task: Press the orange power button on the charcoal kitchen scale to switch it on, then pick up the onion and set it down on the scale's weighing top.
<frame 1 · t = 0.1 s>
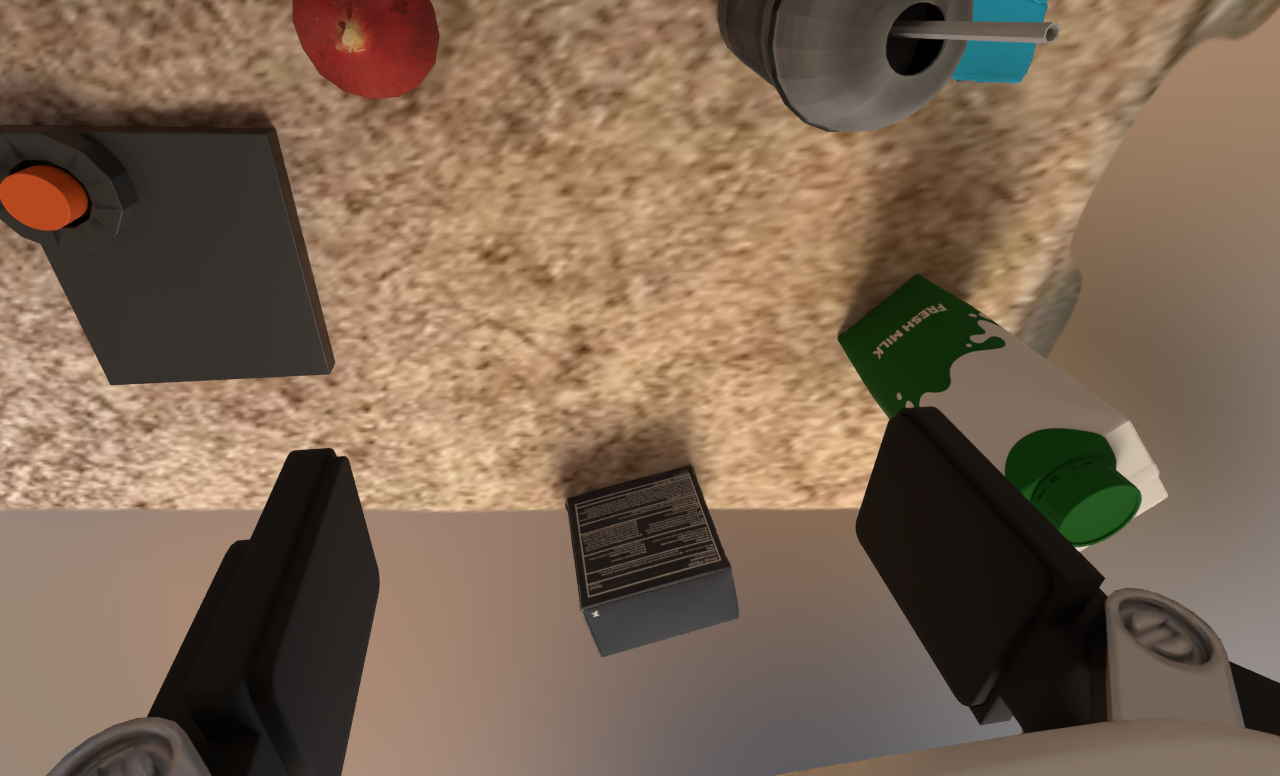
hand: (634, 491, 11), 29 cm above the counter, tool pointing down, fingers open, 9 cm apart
small box: (636, 506, 51), on the counter
onion: (382, 19, 30), on the counter
beverage cup: (758, 12, 33), on the counter
power button: (45, 197, 29), point 3 cm above the counter, slide at 0.1 cm
scale: (192, 260, 35), on the counter
milk carton: (897, 335, 46), on the counter
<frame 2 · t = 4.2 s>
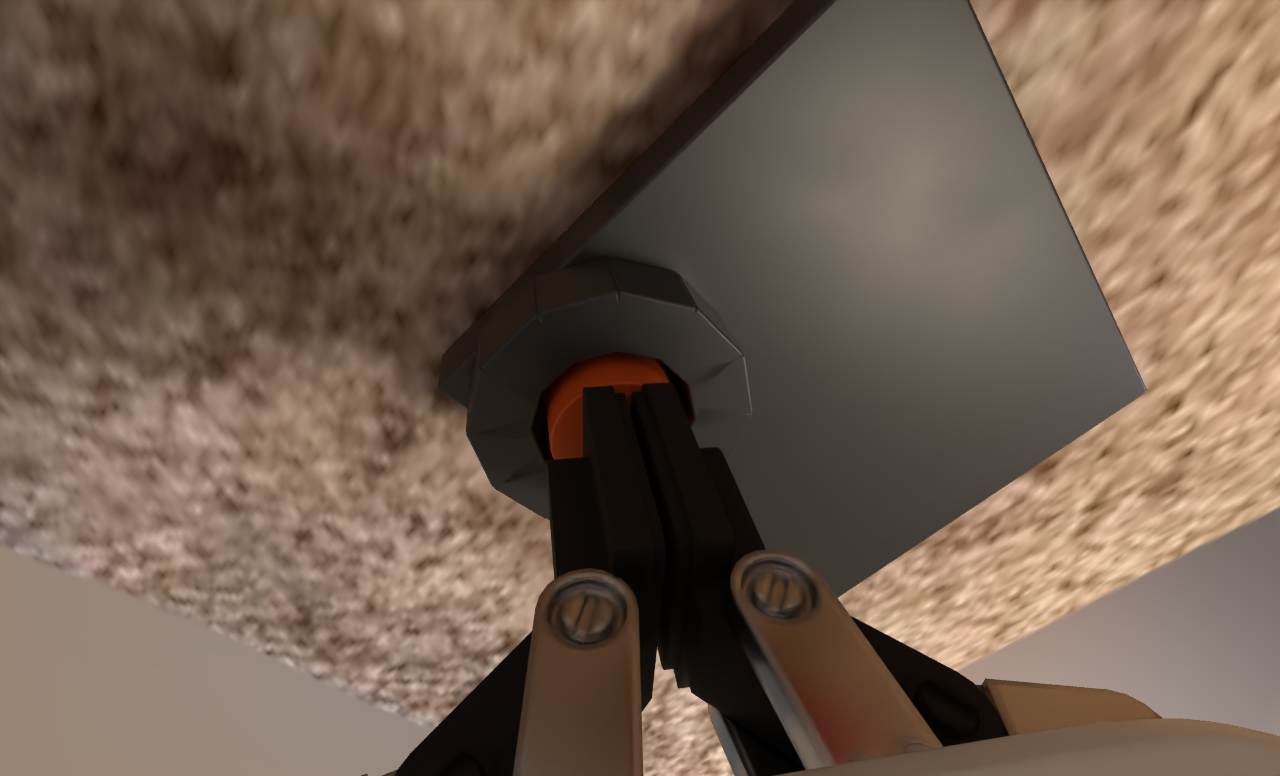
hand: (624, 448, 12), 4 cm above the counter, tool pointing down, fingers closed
power button: (613, 415, 13), point 3 cm above the counter, slide at -0.5 cm, touching gripper
scale: (815, 360, 16), on the counter
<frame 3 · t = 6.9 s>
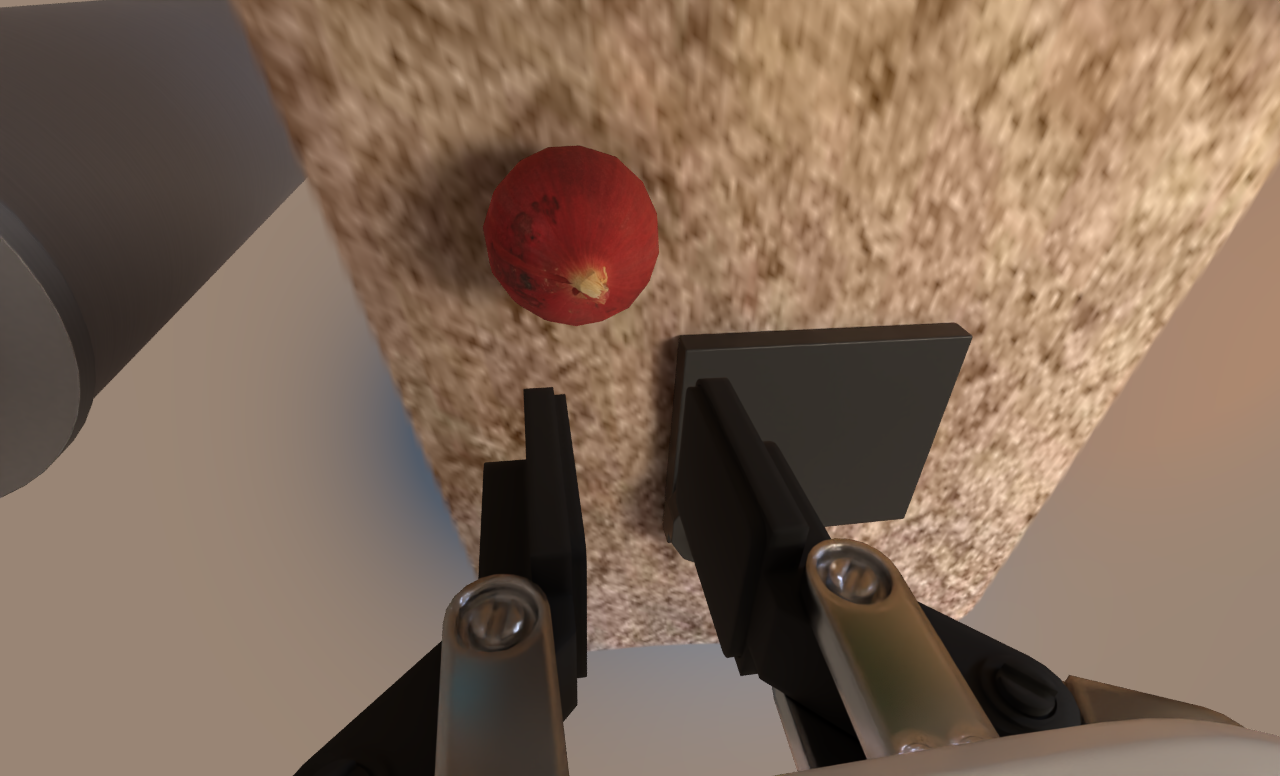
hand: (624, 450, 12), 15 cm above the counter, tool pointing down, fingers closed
onion: (564, 202, 24), on the counter
scale: (799, 430, 33), on the counter
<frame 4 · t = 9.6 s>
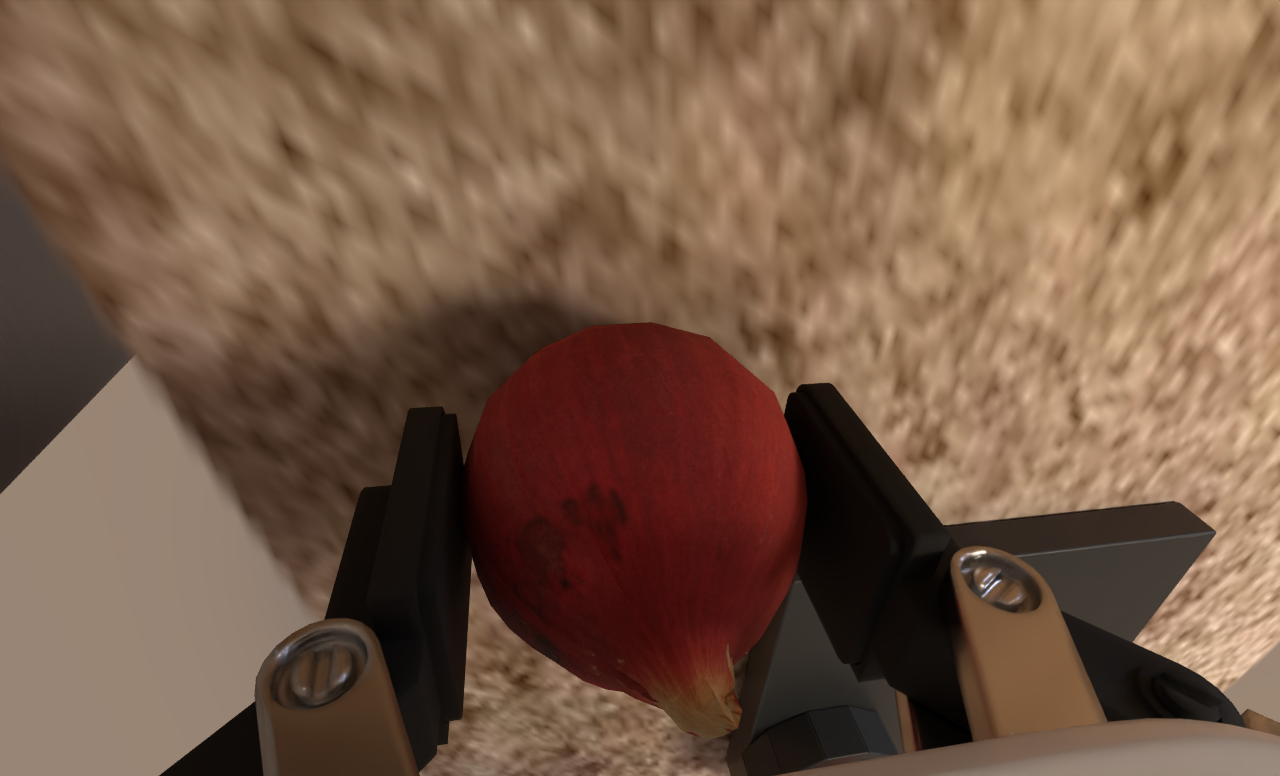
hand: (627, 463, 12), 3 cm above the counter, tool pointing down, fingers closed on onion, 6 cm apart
onion: (605, 373, 14), on the counter, touching gripper
scale: (931, 640, 23), on the counter
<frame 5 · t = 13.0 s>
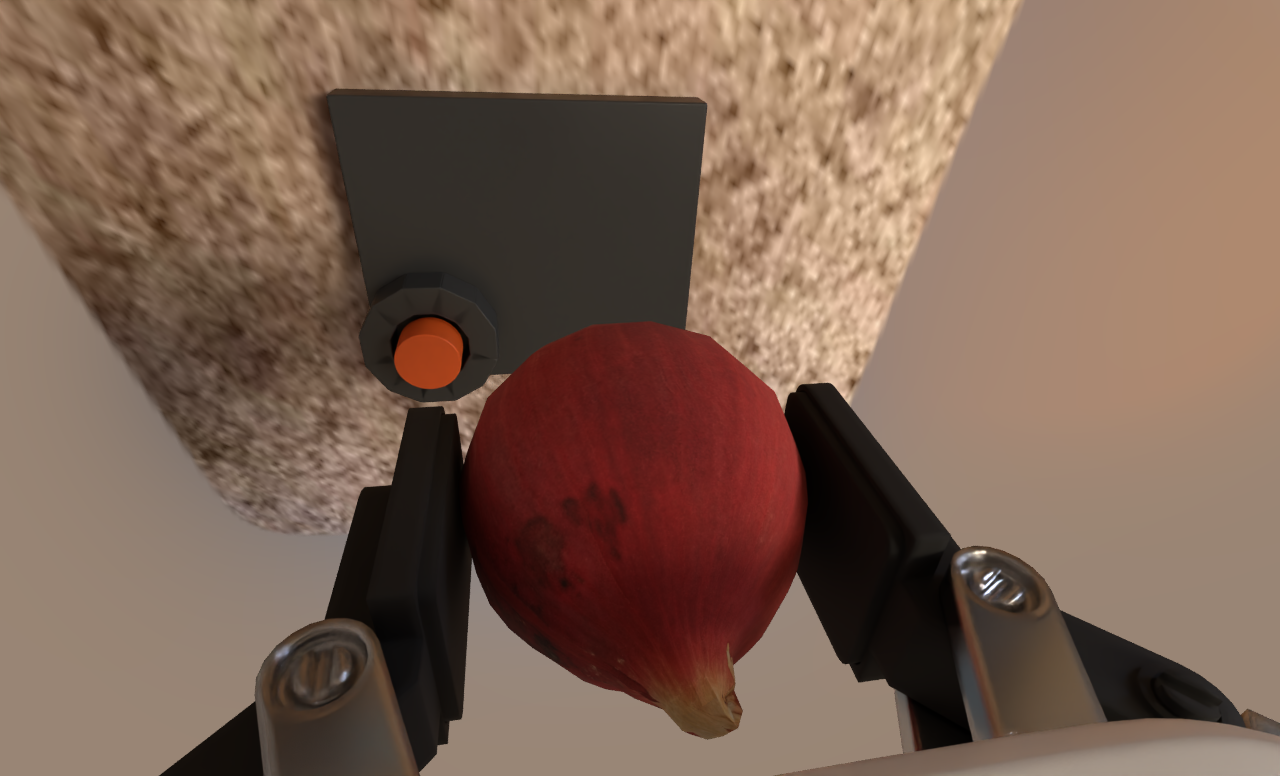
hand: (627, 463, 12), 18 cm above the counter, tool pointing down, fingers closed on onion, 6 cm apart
onion: (605, 372, 14), point 15 cm above the counter, touching gripper
power button: (429, 353, 26), point 3 cm above the counter, slide at 0.1 cm
scale: (532, 241, 28), on the counter
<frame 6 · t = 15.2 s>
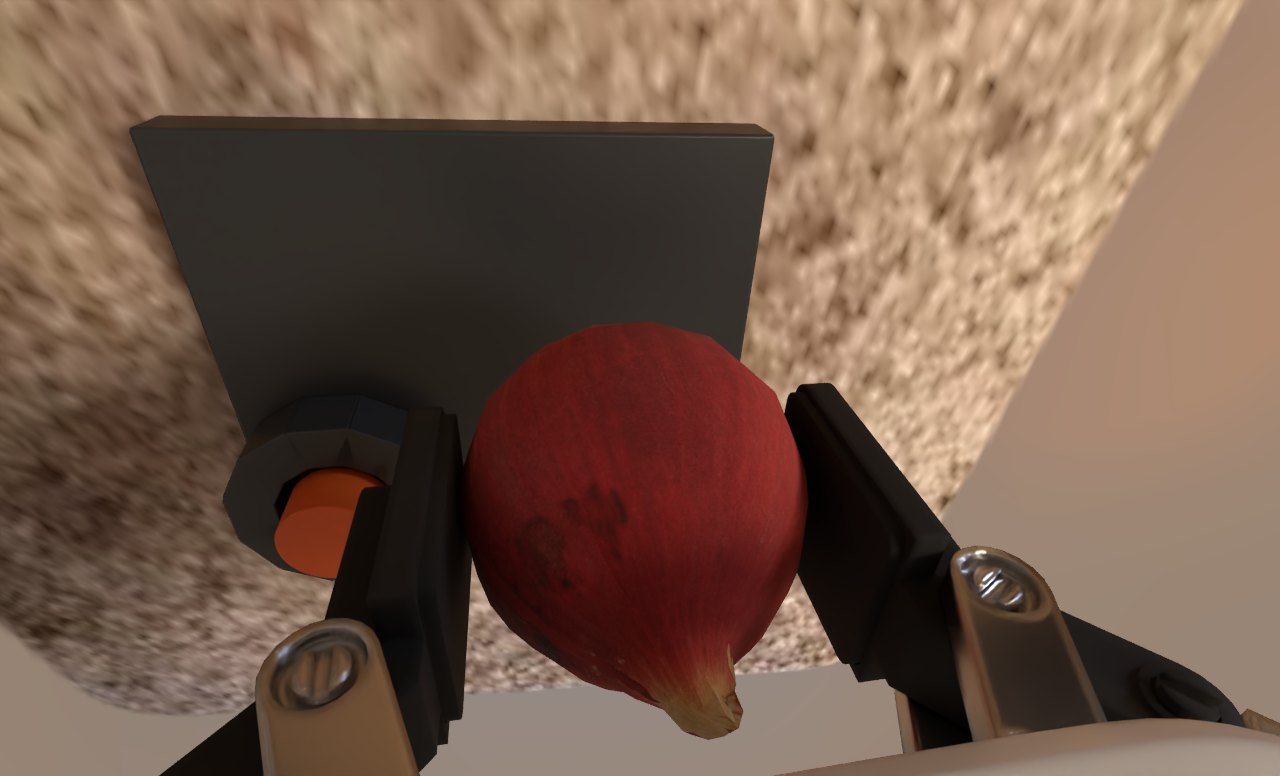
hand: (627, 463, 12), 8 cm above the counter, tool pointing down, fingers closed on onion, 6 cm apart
onion: (605, 373, 14), point 5 cm above the counter, touching gripper
power button: (336, 522, 17), point 3 cm above the counter, slide at 0.1 cm
scale: (500, 338, 18), on the counter
when the fingers open (4 cm above the counter, at t = 16.8 s): onion stays where it is, resting on scale.
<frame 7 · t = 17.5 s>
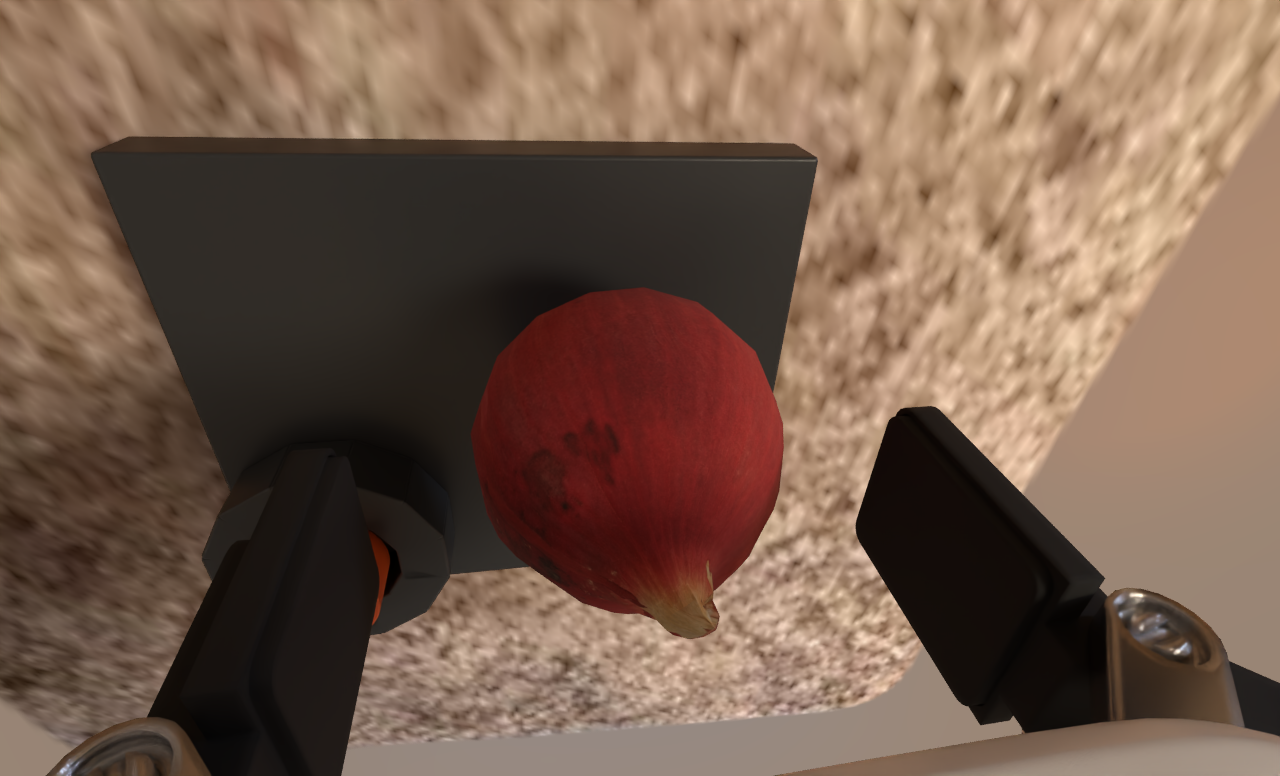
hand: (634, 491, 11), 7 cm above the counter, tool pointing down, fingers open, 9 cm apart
onion: (604, 343, 15), point 1 cm above the counter, touching scale
power button: (328, 582, 15), point 3 cm above the counter, slide at 0.1 cm
scale: (508, 375, 17), on the counter
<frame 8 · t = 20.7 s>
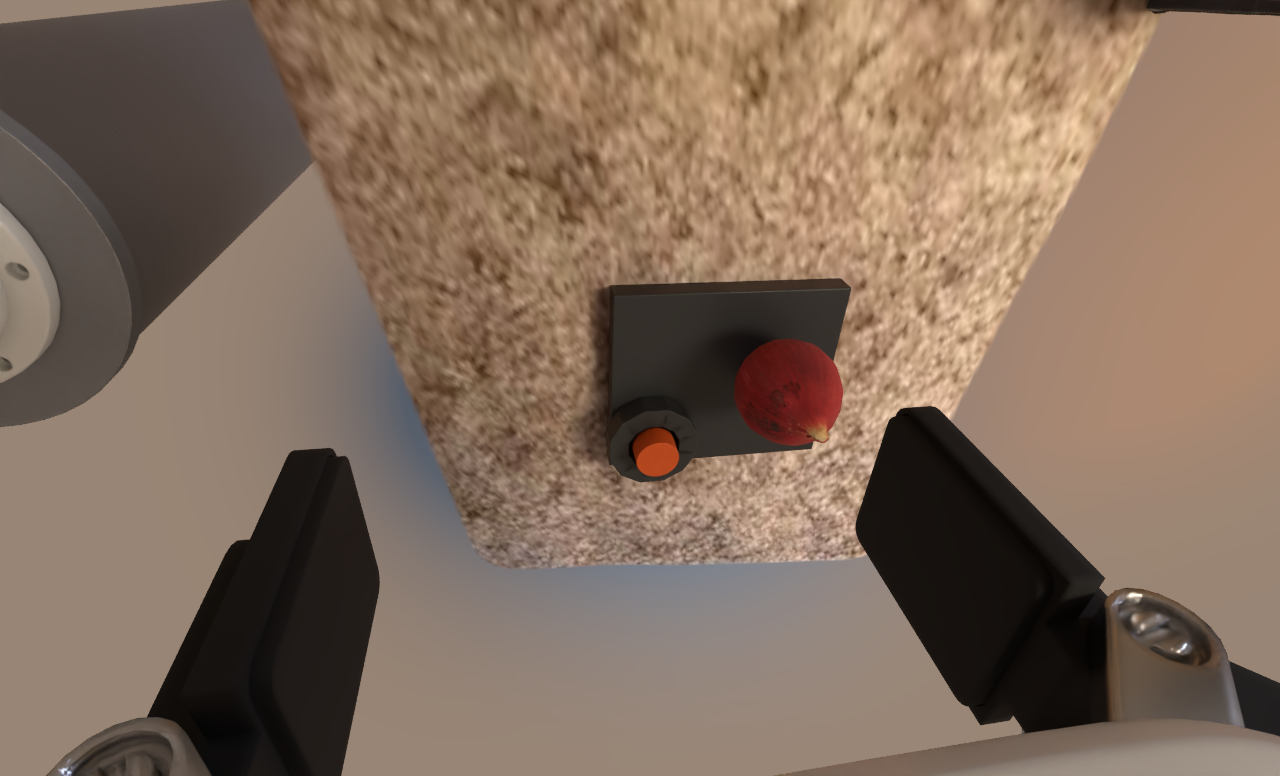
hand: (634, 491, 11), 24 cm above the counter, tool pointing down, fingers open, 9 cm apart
onion: (764, 356, 38), point 1 cm above the counter, touching scale
power button: (655, 452, 38), point 3 cm above the counter, slide at 0.1 cm
scale: (717, 369, 40), on the counter
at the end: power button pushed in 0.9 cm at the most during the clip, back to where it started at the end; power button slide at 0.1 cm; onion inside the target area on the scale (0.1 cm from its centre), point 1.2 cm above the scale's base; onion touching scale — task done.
